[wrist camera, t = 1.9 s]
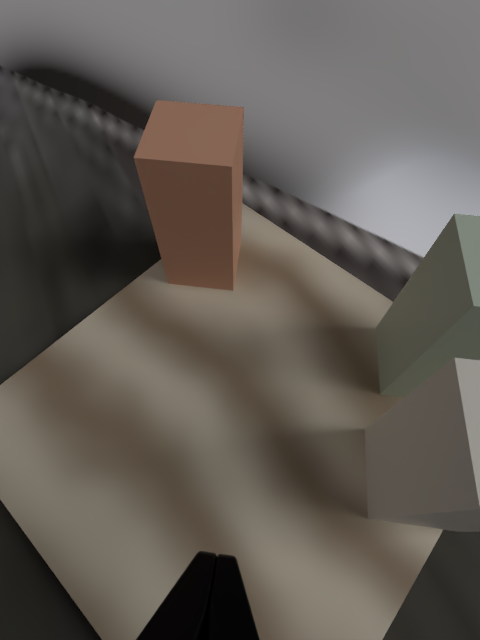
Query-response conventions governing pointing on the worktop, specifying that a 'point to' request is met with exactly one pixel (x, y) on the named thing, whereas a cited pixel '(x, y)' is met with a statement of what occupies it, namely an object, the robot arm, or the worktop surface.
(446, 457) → the cream block
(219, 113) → the terracotta block
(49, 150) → the worktop surface
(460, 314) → the sage block
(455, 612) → the worktop surface
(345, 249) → the worktop surface
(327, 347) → the maple board
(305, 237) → the worktop surface
